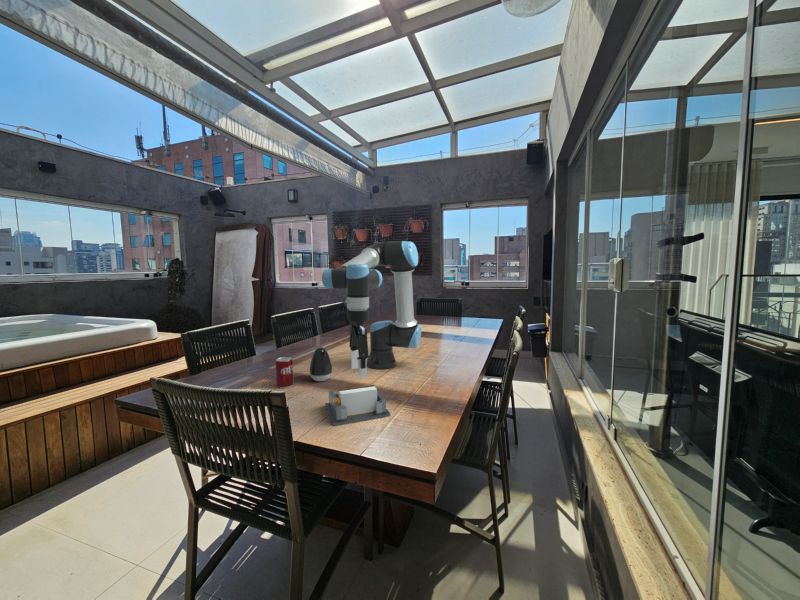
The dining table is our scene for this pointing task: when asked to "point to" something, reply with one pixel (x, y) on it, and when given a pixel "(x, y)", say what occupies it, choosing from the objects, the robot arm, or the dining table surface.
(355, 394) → the panel
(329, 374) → the dark grey egg shape
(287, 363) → the soda can
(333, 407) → the rack
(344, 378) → the dining table surface
